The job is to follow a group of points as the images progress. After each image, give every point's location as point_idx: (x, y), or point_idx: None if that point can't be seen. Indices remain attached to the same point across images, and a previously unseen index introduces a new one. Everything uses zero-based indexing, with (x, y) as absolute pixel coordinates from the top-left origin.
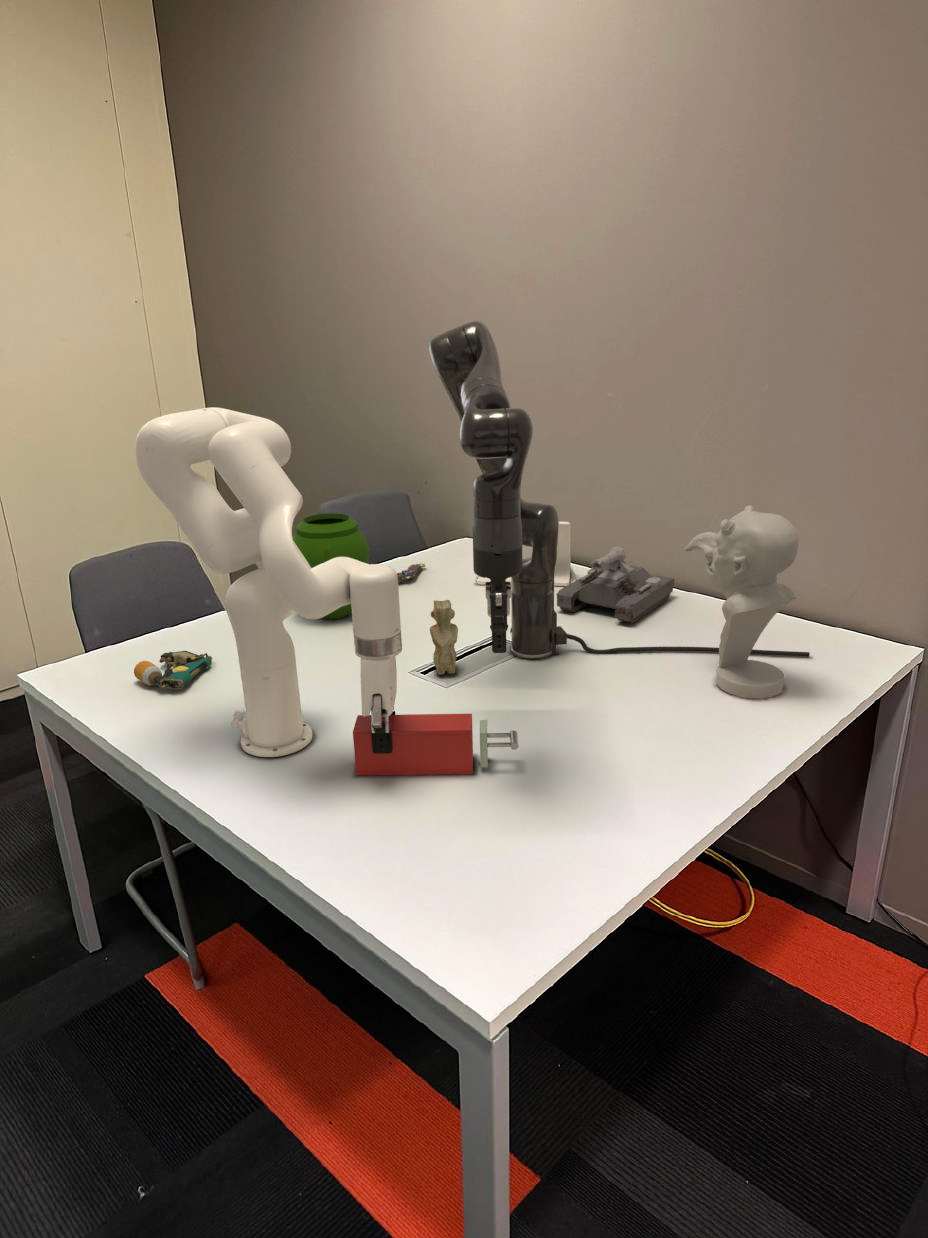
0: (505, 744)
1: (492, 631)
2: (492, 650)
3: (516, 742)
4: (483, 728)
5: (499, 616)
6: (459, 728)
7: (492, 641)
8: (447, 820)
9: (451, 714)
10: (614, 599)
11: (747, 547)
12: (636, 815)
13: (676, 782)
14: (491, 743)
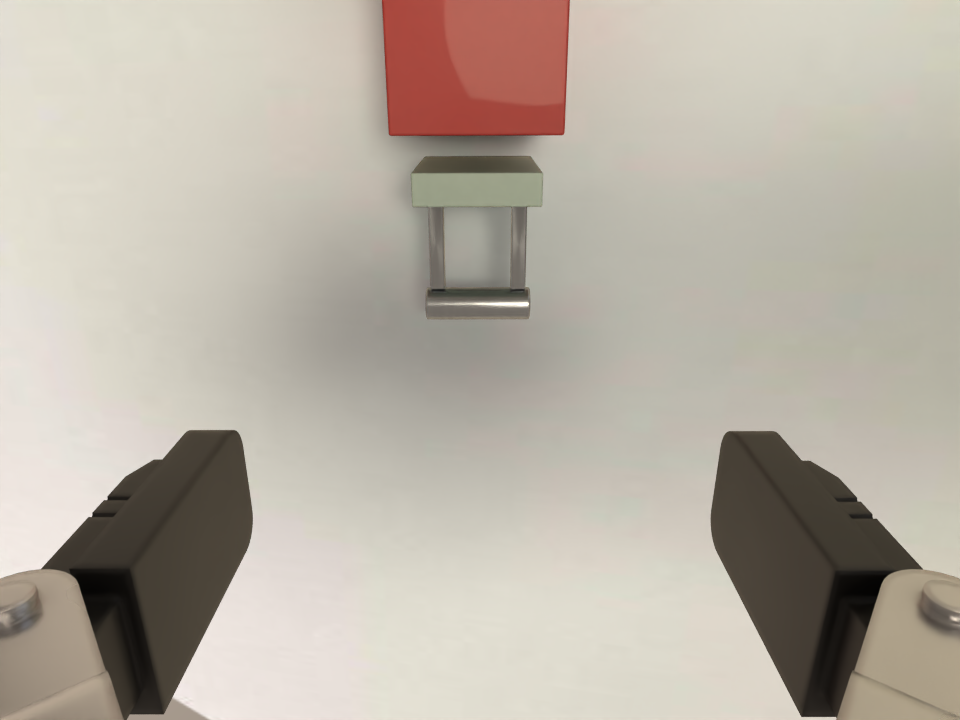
0: (430, 271)
1: (74, 569)
2: (185, 435)
3: (430, 315)
4: (454, 190)
5: (780, 605)
6: (401, 72)
7: (143, 488)
8: (101, 35)
9: (560, 20)
10: None
11: None
12: None
13: (380, 678)
14: (435, 215)
